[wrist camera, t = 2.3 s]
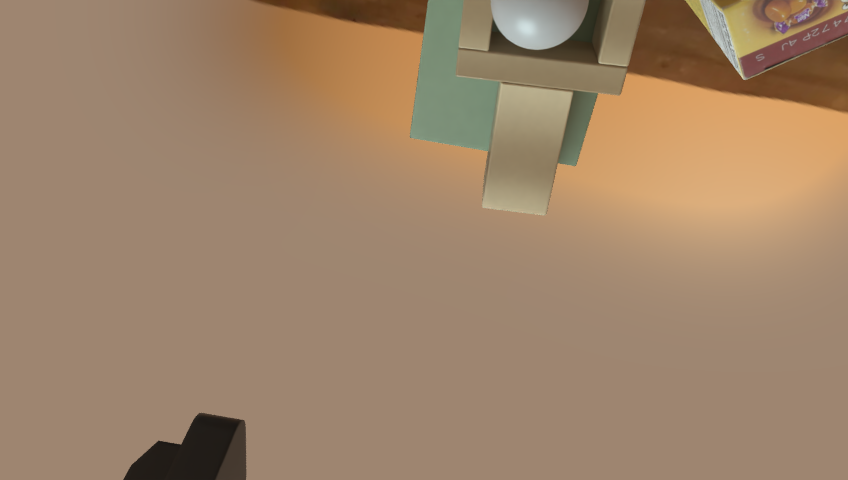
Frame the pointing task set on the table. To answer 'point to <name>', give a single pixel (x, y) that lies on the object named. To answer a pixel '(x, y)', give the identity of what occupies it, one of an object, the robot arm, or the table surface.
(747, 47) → the candy box
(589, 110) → the stand
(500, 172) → the beige square frame paddle
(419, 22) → the table surface
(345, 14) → the table surface
